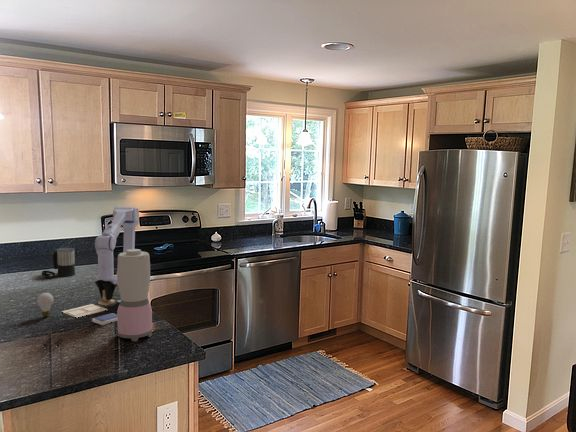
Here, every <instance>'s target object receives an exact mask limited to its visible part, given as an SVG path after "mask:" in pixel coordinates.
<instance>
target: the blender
mask: <svg viewBox="0 0 576 432" xmlns="http://www.w3.org/2000/svg"><path fill="white" fill-rule="evenodd" d="M150 258H151V257H150V253H149V252H147V251H142V249H138V248H135V249H129V250H126V252H123V251H122V252H120V253H119V254H117V269H116V273H117V272H118V284H117V287H118V291H119V295H120V300H121V302H120V303H119V305H118V307H117V311H116V312H117V313H116V315H117V321H116V323H117V336H119V337H120V338H122V339H131V342H132V341H134V342H138V341H139V338H144V337H147V338H150V337H152V335H153V311H152V310H153V309H152V305H151V303H150V301H149V291H150V283H151V262H150V260H151V259H150Z"/></svg>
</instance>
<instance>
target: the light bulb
mask: <svg viewBox="0 0 576 432" xmlns="http://www.w3.org/2000/svg"><path fill="white" fill-rule="evenodd" d="M36 303H37V305H38V306H39V307H40V310H41V313H42V314H41V315H42V316H43V317H45V318H47V317H49V316H50V311H51V307H52V305H53V304H54V296H53V295H52V294H51V293H49V292H43V293H41V294H39V295H38V297H37V299H36Z"/></svg>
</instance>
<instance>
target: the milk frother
mask: <svg viewBox="0 0 576 432" xmlns="http://www.w3.org/2000/svg"><path fill="white" fill-rule="evenodd" d="M75 249H76V248H73V247H61V248H57V249H56V250H54V252H53V253H52V263H53V265H52V266H53V269H54V270H57V273H56V272H54V271H51V270H43V271H41V276H42V277H44V278H46V279H54V278H55V277H56V275H57V277H73V276H75V275H76V270H75V269H76V267H75V251H76V250H75Z"/></svg>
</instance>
